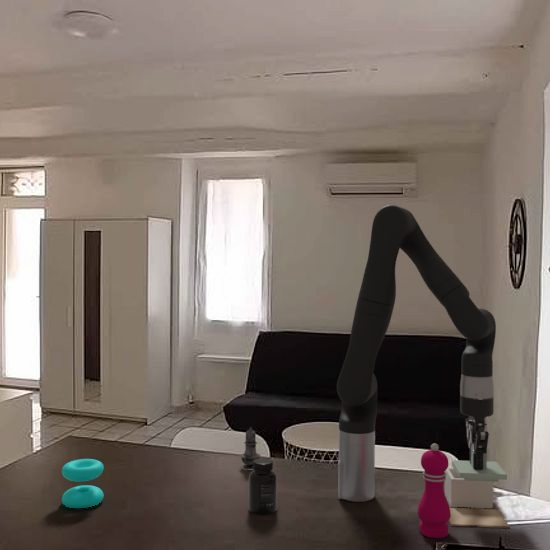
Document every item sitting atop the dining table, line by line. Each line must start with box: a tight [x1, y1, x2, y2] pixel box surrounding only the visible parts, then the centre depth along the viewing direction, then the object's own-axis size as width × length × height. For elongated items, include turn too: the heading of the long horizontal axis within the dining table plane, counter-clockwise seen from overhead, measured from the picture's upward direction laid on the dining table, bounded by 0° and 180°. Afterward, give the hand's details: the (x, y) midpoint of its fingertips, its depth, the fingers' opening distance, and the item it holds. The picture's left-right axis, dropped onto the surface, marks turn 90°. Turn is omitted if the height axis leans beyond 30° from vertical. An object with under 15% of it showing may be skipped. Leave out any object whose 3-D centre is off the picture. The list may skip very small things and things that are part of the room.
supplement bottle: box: [248, 457, 278, 516], centre depth 158 cm, size 7×7×12 cm
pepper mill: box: [417, 443, 451, 539], centre depth 146 cm, size 7×7×20 cm
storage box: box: [444, 467, 494, 509], centre depth 165 cm, size 10×9×7 cm
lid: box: [451, 444, 508, 483], centre depth 154 cm, size 11×10×7 cm
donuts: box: [61, 458, 105, 509], centre depth 162 cm, size 10×10×10 cm
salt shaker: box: [240, 426, 261, 469], centre depth 191 cm, size 6×6×12 cm
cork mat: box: [448, 507, 511, 529], centre depth 154 cm, size 13×10×1 cm
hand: (476, 466), depth 154 cm, fingers closed on lid, 3 cm apart
